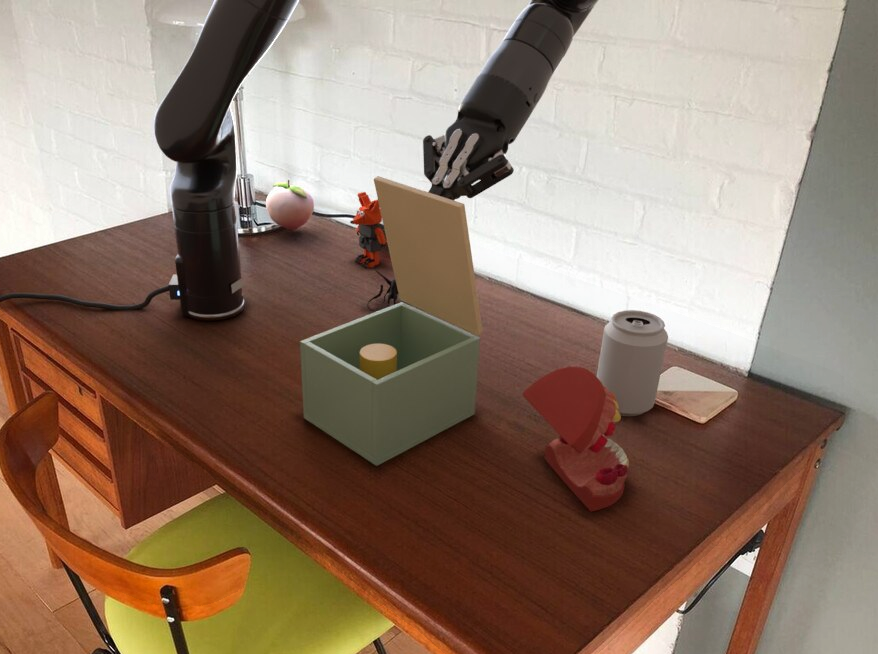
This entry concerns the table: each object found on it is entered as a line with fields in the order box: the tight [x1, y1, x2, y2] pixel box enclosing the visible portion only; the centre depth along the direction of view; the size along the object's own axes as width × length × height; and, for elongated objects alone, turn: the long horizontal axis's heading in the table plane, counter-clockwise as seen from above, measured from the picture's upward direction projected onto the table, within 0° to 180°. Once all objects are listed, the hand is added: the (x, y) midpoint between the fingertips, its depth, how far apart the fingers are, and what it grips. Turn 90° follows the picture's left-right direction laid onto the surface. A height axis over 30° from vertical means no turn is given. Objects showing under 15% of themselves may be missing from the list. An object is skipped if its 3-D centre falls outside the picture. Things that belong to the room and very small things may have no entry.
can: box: [596, 309, 669, 417], centre depth 103 cm, size 8×8×12 cm
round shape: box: [360, 344, 397, 380], centre depth 100 cm, size 4×4×9 cm
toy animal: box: [349, 191, 387, 268], centre depth 144 cm, size 8×6×12 cm
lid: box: [373, 175, 484, 337], centre depth 97 cm, size 17×14×1 cm
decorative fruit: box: [265, 179, 315, 232], centre depth 159 cm, size 9×8×10 cm
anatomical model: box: [522, 366, 630, 513], centre depth 89 cm, size 10×8×15 cm
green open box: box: [299, 301, 481, 467], centre depth 101 cm, size 17×14×11 cm
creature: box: [366, 270, 418, 311], centre depth 130 cm, size 8×5×8 cm
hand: (427, 219), depth 95 cm, fingers closed
